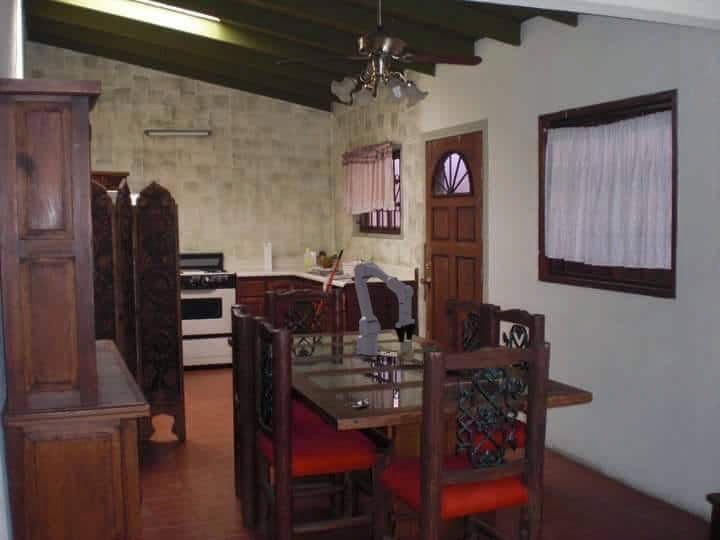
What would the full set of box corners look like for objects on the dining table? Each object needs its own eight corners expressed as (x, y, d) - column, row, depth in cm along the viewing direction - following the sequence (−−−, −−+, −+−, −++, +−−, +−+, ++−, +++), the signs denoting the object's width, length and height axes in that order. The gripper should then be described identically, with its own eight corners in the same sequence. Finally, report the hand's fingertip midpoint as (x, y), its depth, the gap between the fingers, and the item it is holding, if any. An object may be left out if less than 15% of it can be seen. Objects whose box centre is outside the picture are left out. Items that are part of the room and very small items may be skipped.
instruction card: (375, 355, 373) (375, 354, 373) (382, 351, 382) (382, 351, 382) (399, 356, 369) (399, 356, 369) (405, 353, 377) (405, 352, 377)
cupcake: (436, 356, 369) (436, 331, 368) (418, 355, 371) (418, 330, 370) (438, 352, 378) (438, 328, 377) (421, 352, 379) (421, 327, 378)
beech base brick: (397, 360, 362) (397, 352, 361) (402, 358, 367) (402, 349, 367) (409, 361, 359) (409, 352, 359) (414, 359, 364) (413, 350, 364)
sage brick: (400, 351, 362) (400, 340, 362) (404, 350, 365) (404, 339, 365) (407, 352, 360) (407, 341, 359) (412, 351, 363) (412, 340, 363)
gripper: (405, 314, 353) (405, 344, 354) (420, 310, 365) (420, 339, 366) (391, 313, 356) (391, 342, 358) (406, 309, 369) (406, 338, 370)
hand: (405, 341), depth 362 cm, fingers open, 7 cm apart
